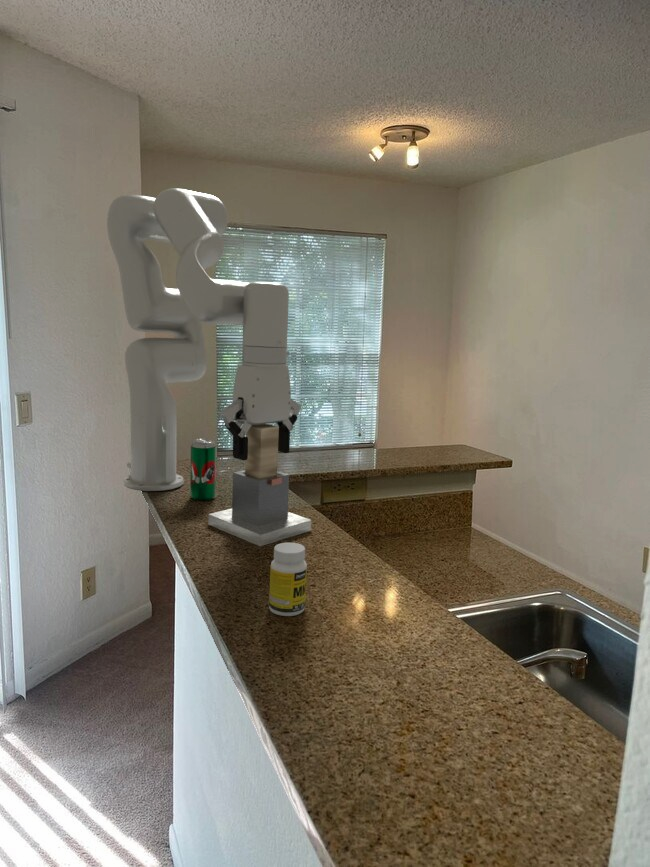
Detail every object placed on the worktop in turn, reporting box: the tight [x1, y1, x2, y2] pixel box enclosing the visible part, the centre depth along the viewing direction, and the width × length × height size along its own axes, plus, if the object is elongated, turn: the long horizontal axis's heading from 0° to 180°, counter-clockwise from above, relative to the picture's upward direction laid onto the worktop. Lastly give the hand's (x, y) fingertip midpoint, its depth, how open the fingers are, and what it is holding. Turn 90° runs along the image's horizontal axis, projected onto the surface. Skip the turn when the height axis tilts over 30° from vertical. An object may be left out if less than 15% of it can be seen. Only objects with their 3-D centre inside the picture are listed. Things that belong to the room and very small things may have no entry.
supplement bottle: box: [268, 542, 308, 617], centre depth 81 cm, size 5×5×8 cm
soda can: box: [189, 438, 217, 502], centre depth 127 cm, size 5×5×12 cm
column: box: [244, 423, 279, 479], centre depth 110 cm, size 4×4×16 cm
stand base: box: [208, 469, 312, 547], centre depth 111 cm, size 14×12×10 cm
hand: (261, 455), depth 109 cm, fingers open, 9 cm apart
